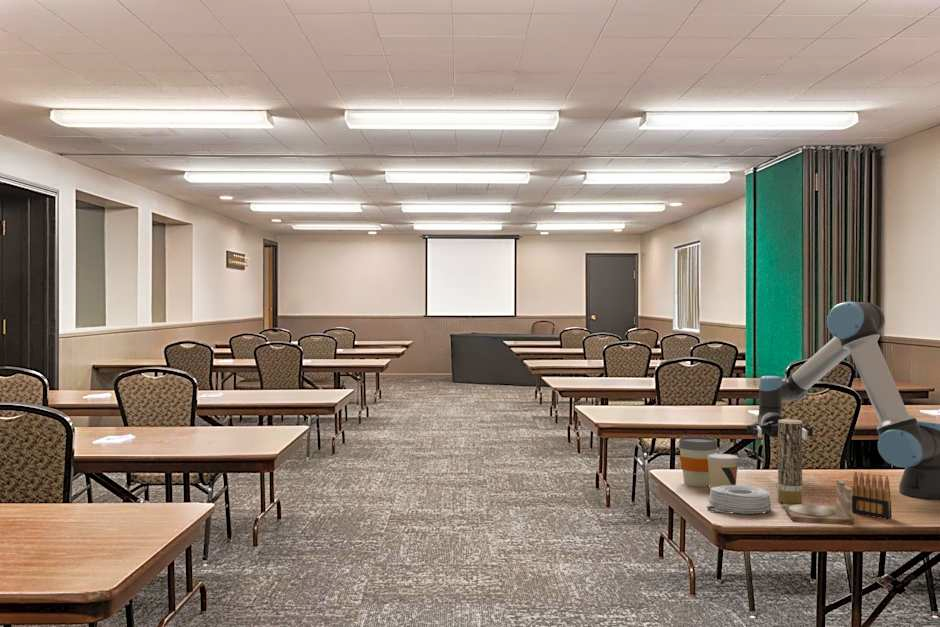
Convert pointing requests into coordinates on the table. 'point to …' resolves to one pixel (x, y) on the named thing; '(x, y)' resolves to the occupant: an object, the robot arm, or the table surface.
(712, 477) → the coffee cup
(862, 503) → the ammunition clip
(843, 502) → the base
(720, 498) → the cable
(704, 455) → the reusable coffee cup
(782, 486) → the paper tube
